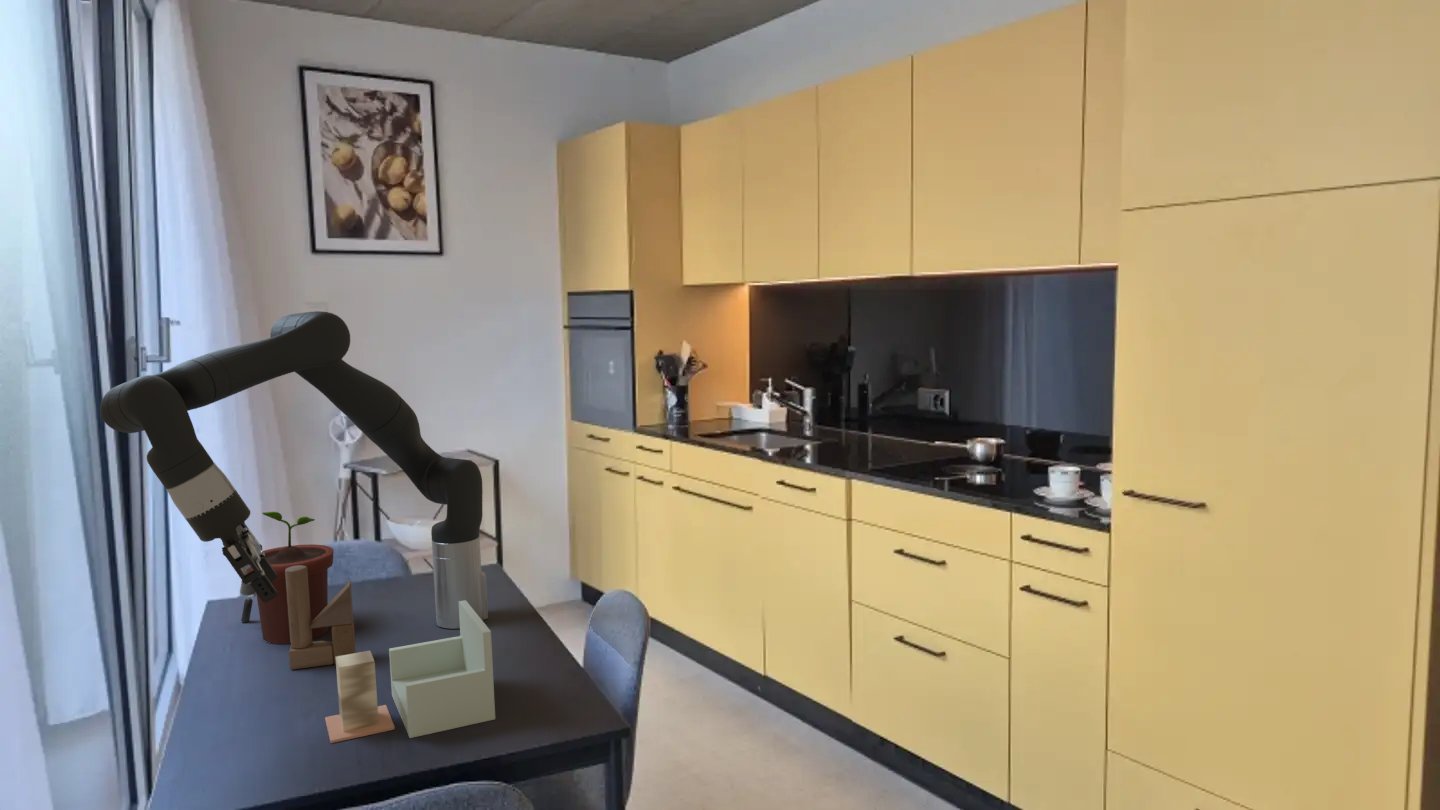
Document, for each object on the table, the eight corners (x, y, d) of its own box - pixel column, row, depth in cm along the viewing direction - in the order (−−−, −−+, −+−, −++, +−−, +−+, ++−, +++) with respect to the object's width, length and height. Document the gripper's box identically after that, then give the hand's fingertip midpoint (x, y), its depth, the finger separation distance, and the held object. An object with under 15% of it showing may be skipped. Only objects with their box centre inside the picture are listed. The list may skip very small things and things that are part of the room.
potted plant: (241, 656, 174) (230, 523, 171) (241, 621, 193) (231, 501, 190) (344, 638, 182) (335, 511, 179) (334, 607, 201) (326, 492, 198)
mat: (330, 743, 138) (330, 740, 138) (325, 719, 146) (325, 717, 146) (394, 729, 142) (394, 726, 142) (386, 707, 150) (385, 704, 150)
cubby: (409, 738, 139) (404, 646, 138) (391, 695, 155) (386, 613, 153) (495, 719, 145) (490, 631, 144) (469, 680, 160) (465, 600, 159)
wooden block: (355, 662, 170) (348, 564, 168) (290, 671, 166) (282, 571, 164) (356, 655, 173) (349, 559, 171) (292, 663, 170) (285, 566, 168)
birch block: (343, 731, 141) (339, 667, 140) (339, 719, 145) (335, 656, 144) (378, 724, 143) (374, 660, 142) (374, 711, 148) (369, 650, 147)
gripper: (232, 499, 131) (296, 591, 137) (235, 477, 144) (293, 561, 149) (179, 528, 129) (246, 620, 134) (186, 503, 142) (248, 588, 147)
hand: (271, 589), depth 142 cm, fingers open, 8 cm apart
